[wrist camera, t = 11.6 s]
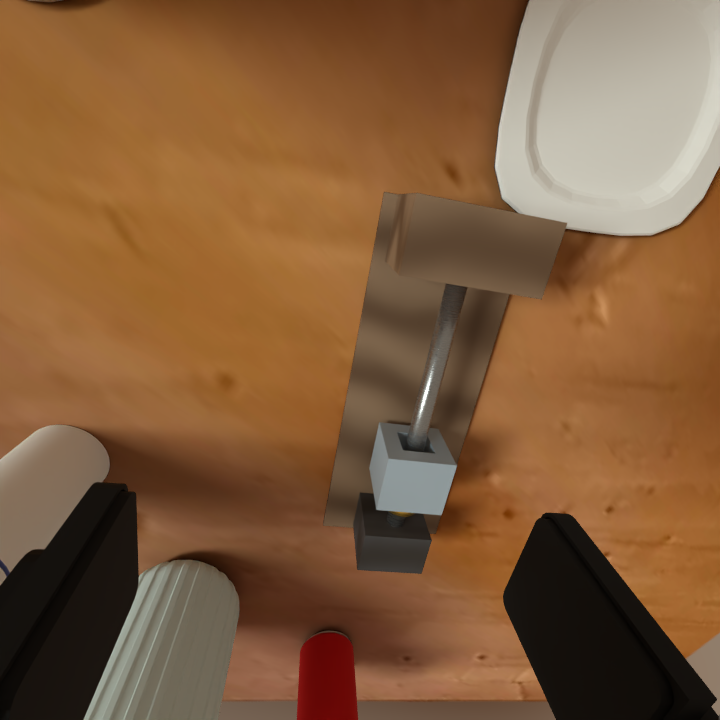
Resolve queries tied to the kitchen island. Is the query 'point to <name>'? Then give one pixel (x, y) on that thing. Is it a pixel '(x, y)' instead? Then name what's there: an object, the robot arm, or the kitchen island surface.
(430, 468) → the grey sliding block
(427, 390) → the metal rod
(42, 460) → the cylindrical container
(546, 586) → the robot arm
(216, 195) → the kitchen island surface
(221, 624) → the vase
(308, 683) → the beverage can
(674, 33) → the plate
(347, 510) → the slide base
